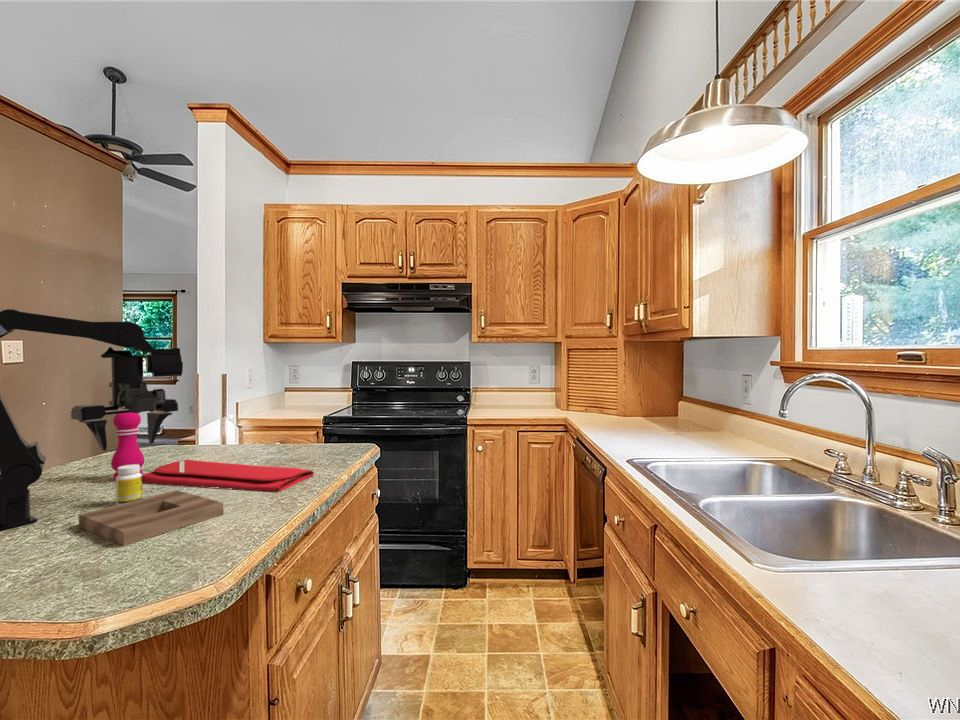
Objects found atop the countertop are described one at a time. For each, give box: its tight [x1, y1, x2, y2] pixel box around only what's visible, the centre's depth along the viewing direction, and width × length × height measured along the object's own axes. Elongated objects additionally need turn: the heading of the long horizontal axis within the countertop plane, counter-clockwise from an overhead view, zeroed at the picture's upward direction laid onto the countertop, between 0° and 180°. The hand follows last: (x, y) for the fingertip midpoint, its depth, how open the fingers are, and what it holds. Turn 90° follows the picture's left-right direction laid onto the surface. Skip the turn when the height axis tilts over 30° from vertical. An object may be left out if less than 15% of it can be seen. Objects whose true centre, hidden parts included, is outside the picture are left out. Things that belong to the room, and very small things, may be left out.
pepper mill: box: [110, 407, 145, 482], centre depth 125 cm, size 7×7×20 cm
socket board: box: [78, 490, 224, 547], centre depth 94 cm, size 18×18×2 cm
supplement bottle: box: [115, 464, 143, 505], centre depth 105 cm, size 5×5×8 cm
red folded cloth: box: [142, 459, 315, 493], centre depth 124 cm, size 16×41×4 cm, turn 78°
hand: (128, 446), depth 104 cm, fingers open, 9 cm apart
